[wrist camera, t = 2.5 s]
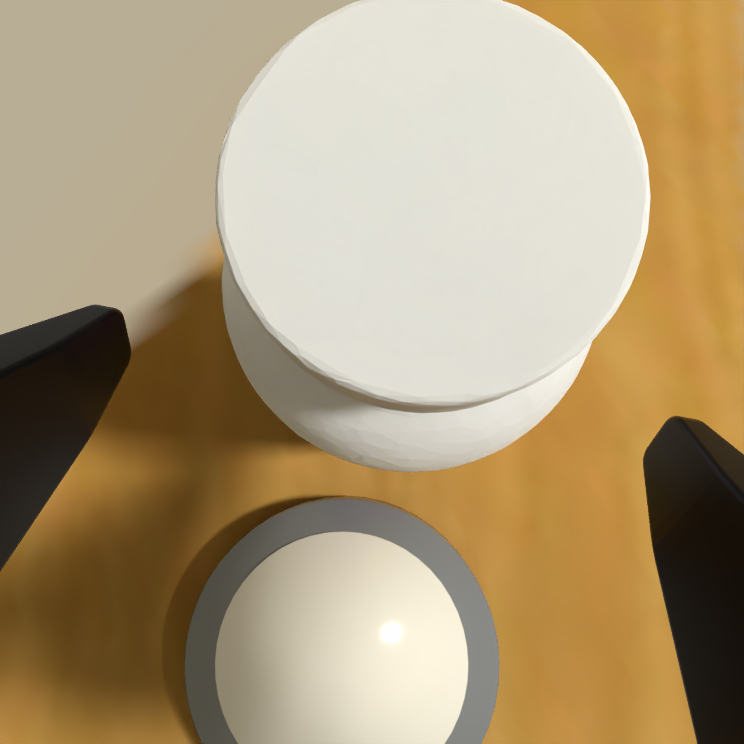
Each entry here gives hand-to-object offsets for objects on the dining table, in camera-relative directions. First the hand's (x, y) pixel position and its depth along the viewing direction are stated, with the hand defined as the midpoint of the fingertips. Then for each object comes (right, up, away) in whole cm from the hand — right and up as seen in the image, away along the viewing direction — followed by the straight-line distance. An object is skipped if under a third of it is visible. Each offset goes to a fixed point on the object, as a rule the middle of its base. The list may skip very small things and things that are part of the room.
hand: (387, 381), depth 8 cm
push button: (-1, -9, +9) cm, 13 cm away
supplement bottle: (0, +1, +10) cm, 10 cm away
